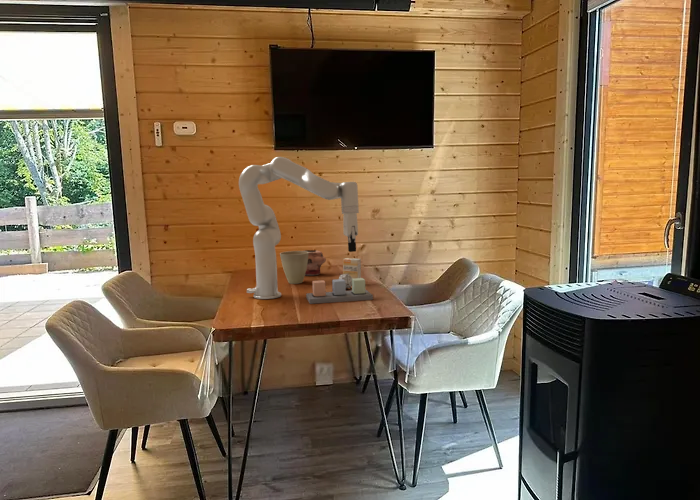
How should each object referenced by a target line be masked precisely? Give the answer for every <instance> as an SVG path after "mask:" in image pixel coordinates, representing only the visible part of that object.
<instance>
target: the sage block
mask: <svg viewBox="0 0 700 500" xmlns="http://www.w3.org/2000/svg"><path fill="white" fill-rule="evenodd" d="M351 288H352V289H351V291H352V292H353V293H354V294H360V293H365V290H366V279H365V278H363V277H361V278H353V279H352V286H351Z"/></svg>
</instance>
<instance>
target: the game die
mask: <svg viewBox="0 0 700 500" xmlns="http://www.w3.org/2000/svg"><path fill="white" fill-rule="evenodd" d="M349 273H350V272H349ZM338 279H344V280H345V283H346V289H350V290H352V279H353V278H352V277H351V276H350V275H349V274H343V273H342V274H341V273H340V272H339V276H338Z"/></svg>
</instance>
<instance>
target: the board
mask: <svg viewBox="0 0 700 500" xmlns="http://www.w3.org/2000/svg"><path fill="white" fill-rule="evenodd" d="M305 295H306V297H305V298H306V300H307V302H308V303H309V304H310V305H313V304H314V305H315V304H325V303H326V304H327V303H341V302H343V303H344V302H355V301H356V302H357V301H371V300H374V295H373V294H372V293H371V292H370V291H368V290H367V289H365V293H360V294H354V293H353V292H352V290H346V294H345V295H334V294H333V291H326V296H314V295H313V292H309V293H306V294H305Z"/></svg>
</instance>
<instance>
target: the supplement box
mask: <svg viewBox="0 0 700 500" xmlns="http://www.w3.org/2000/svg"><path fill="white" fill-rule="evenodd" d="M342 259H343V260H342V267H343V268H342V269H343V270H342V272H343V273H342V274H349V275H350V276H351V277H352V278H362V277H361V275H362V272H361V271H362V268H361V267H362V258H351V257H346V258H342ZM349 272H350V273H349Z"/></svg>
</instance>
